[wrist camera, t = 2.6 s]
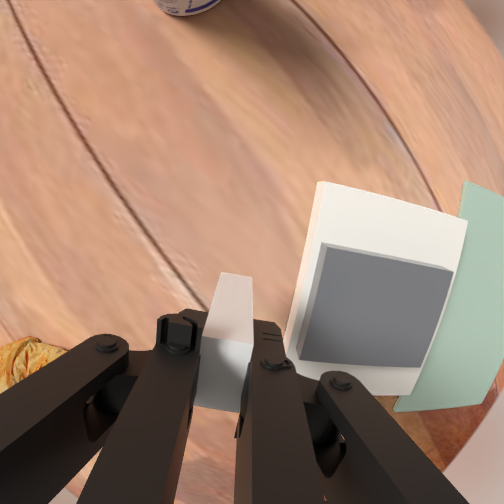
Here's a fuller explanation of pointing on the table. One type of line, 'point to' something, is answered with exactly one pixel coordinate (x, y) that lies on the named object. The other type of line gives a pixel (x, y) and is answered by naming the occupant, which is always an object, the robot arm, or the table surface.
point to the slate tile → (371, 308)
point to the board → (379, 241)
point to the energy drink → (185, 6)
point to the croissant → (24, 360)
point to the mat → (468, 314)
